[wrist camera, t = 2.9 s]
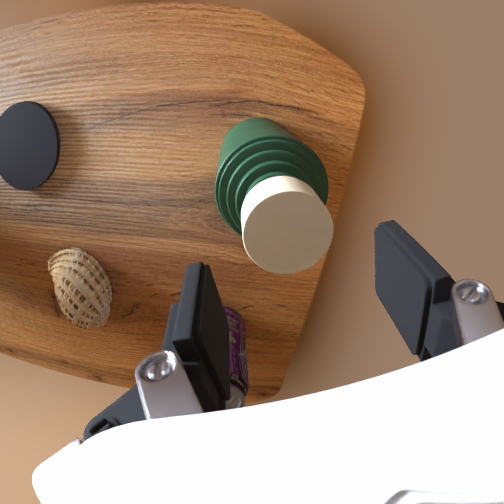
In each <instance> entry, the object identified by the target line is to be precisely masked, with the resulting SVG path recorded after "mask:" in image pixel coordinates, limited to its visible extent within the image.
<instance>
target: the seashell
mask: <svg viewBox="0 0 504 504" xmlns="http://www.w3.org/2000/svg"><path fill="white" fill-rule="evenodd" d="M48 266H49V268H48V270H49V274H50V275H51V278H52V279H53V282H54V285H55V295H56V298H57V300H58V303H59V306H60V308H61V310H62V312H63V313H64V315H65V316H66V317H67V318H68V320H69V321H70V322H72V323H73V324H74V325H75V326H77V327H80V328H84V329H89V328H91V327H92V326H94V327H96V328H98V327H102V326H103V327H106V322H107V318H108V317H109V315H110V302H111V301H112V287H111V282H110V280H109V277H108V275H107V273H106V272H105V270H104V269H103V267H102V266H101V264H100V263H99V262H98V261H97V260H96V259H95V258H94V257H93V256H92V255H90V254H89V253H88V252H86V251H84V250H82V249H80V248H76V247H69V249H61V250H60V251H57V252H55V253H54V254H53V255H52V256H51V257H50V258H49V260H48Z"/></svg>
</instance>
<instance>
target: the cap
mask: <svg viewBox="0 0 504 504" xmlns="http://www.w3.org/2000/svg"><path fill="white" fill-rule="evenodd" d="M241 224H242V237H243V244H244V247H245V250H246V252H247V254H248V255H249V257H250V258H251V259H252V260H253V262H254V263H256V264H257V265H258V266H260V267H261V268H263V269H265V270H267V271H270V272H273V273H278V274H292V273H297V272H300V271H303V270H306V269H308V268H310V267H311V266H313V265H314V264H316V263H317V262H318V261H319V260H320V259H321V258H322V257H323V256H324V255H325V253H326V252H327V250H328V248H329V246H330V244H331V241H332V237H333V221H332V218H331V215H330V213H329V211H328V209H327V208H326V206H325V205H324V204H323V202H322V201H321V200H320V198H319V197H318V196H317V194H316V193H315V192H314V190H313V189H312V188H311V187H310V186H309V185H308V184H307V183H305V182H304V181H302V180H300V179H297V178H294V177H290V176H276V177H272V178H268V179H266V180H264V181H262V182H260V183H258V184H257V185H256V186H255V187H254V188H253V189H252V190H251V191H250V192H249V193H248V194H247V196H246V198H245V200H244V202H243V205H242V209H241Z"/></svg>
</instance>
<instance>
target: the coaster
mask: <svg viewBox="0 0 504 504" xmlns="http://www.w3.org/2000/svg"><path fill="white" fill-rule="evenodd" d="M59 153H60V137H59V132H58V128H57V125H56V123H55V121H54V119H53V117H52V115H51V114H50V113H49V112H48V110H47V109H45V108H44V107H43V106H41V105H40V104H38V103H35V102H31V101H24V102H19V103H16V104H14V105H12V106H10V107H9V108H8V109H6V110H5V111H4V112H3V114H2V115H1V116H0V176H1V177H2V178H3V179H4V180H5V181H6V182H7V183H8V184H9V185H11V186H12V187H14V188H17V189H21V190H30V189H34V188H37V187H38V186H40V185H42V184H43V183H44V182H46V181H47V180H48V179H49V177H50V176H51V175H52V173H53V171H54V170H55V167H56V165H57V162H58V159H59Z"/></svg>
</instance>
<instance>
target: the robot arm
mask: <svg viewBox="0 0 504 504" xmlns="http://www.w3.org/2000/svg"><path fill="white" fill-rule="evenodd" d="M374 233H375V288H376V293H377V296H378V297H379V299H380V300H381V302H382V304H383V305H384V307H385V309H386V310H387V312H388V314H389V315H390V317H391V319H392V320H393V322H394V324H395V325H396V327H397V329H398V330H399V332H400V334H401V336H402V337H403V339H404V341H405V342H406V344H407V346H408V348H409V349H410V351H411V353H412V354H413V355H416V354H417V355H418V357H419V359H420V361H421V362H420V363H417V364H414V365H411V366H408V367H405V368H402V369H399V370H396V371H393V372H390V373H387V374H383V375H380V376H377V377H374V378H371V379H367V380H364V381H360V382H356V383H353V384H349V385H345V386H342V387H338V388H334V389H330V390H326V391H322V392H318V393H313V394H309V395H305V396H301V397H296V398H291V399H286V400H281V401H276V402H271V403H266V404H260V405H254V406H249V407H242V408H236V409H229V410H226V406H225V401H226V400H230V398H231V393H230V344H229V324H228V320H227V317H226V314H225V312H224V309H223V306H222V303H221V300H220V297H219V294H218V291H217V288H216V285H215V282H214V279H213V275H212V272H211V269H210V267H209V265H204V264H203V263H202V262H198V263H194V264H189V265H187V266H186V271H185V275H184V280H183V285H182V290H181V295H180V300H179V302H177V303H173V304H172V305H171V308H170V312H169V317H168V321H167V326H166V330H165V335H164V340H163V345H162V350H161V351H156V352H153V353H151V354H149V355H147V356H146V357H144V358H143V359H142V360H141V361H140V362H139V364H138V365H137V367H136V370H135V378H136V382H137V384H136V385H135V386H134V387H133V388H131V389H130V390H129V391H127V392H126V393H125V394H124V395H123V396H121V397H120V398H119V399H117V400H116V401H115V402H114V403H112V404H111V405H110V406H108V407H107V408H106V409H104V410H103V411H102V412H101V413H100V414H98V415H97V416H95V417H94V418H93V419H92V420H91V421H90V422H89V423H88V425H87V426H86V428H85V431H84V438H83V439H82V440H79V439H78V438H76V439H75V440H74V441H72V442H71V443H70V444H68V445H67V446H66V447H64V448H63V449H61V450H60V451H59V452H57V453H56V454H55V455H53V456H52V457H50V458H49V459H48V460H46V461H45V462H44V463H42V464H41V465H40V466H39V467H38V468H37V469H36V470H35V472H34V474H33V484H34V488H35V490H36V492H37V494H38V497H39V499H40V501H41V503H42V504H504V303H501V302H497V301H495V299H494V296H493V294H492V291H491V290H490V288H489V287H488V286H487V285H486V284H485V283H483V282H481V281H478V280H474V279H463V280H460V281H457V282H455V281H454V280H453V279H452V278H451V276H450V275H449V274H448V273H447V272H446V270H445V269H444V268H443V267H442V266H441V265H440V264H439V263H438V262H437V261H436V260H435V259H434V258H433V257H432V256H431V255H430V254H429V253H428V252H427V251H426V250H425V249H424V248H423V247H422V246H421V245H420V244H419V243H418V242H417V241H415V239H414V238H412V237H411V236H410V235H409V234H408V233H407V232H406V231H405V230H404V229H403V228H402V227H401V226H400V225H399V224H398V223H396V222H395V221H394V220H391V221H386V222H382V223H379V225H378V227H377V228H375V232H374ZM220 410H222V411H220Z"/></svg>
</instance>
